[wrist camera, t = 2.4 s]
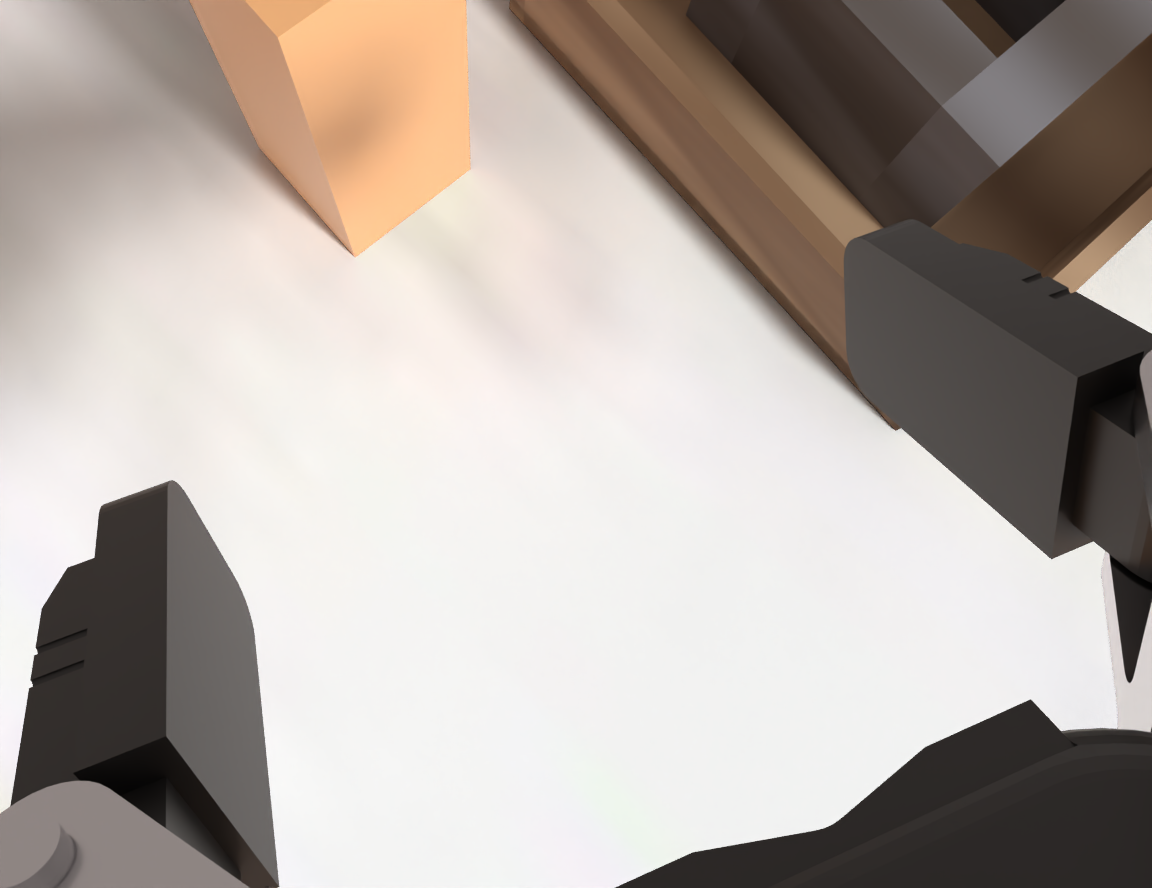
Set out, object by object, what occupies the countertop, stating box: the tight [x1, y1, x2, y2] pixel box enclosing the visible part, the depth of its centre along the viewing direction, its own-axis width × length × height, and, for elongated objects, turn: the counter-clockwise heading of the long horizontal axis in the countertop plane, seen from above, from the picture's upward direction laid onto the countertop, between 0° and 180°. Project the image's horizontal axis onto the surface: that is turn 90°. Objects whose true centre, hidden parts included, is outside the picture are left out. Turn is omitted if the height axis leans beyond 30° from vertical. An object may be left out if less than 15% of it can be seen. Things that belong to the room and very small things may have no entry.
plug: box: [189, 0, 470, 257], centre depth 21 cm, size 4×4×12 cm
